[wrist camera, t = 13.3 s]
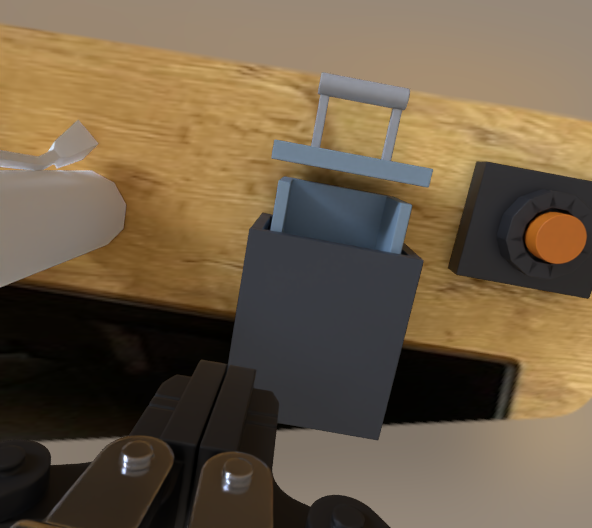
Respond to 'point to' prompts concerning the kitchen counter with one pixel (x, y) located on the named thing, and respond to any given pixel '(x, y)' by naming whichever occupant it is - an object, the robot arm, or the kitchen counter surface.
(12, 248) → the fire extinguisher
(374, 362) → the drawer housing
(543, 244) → the button
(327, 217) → the drawer
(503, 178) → the control block
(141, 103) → the kitchen counter surface
